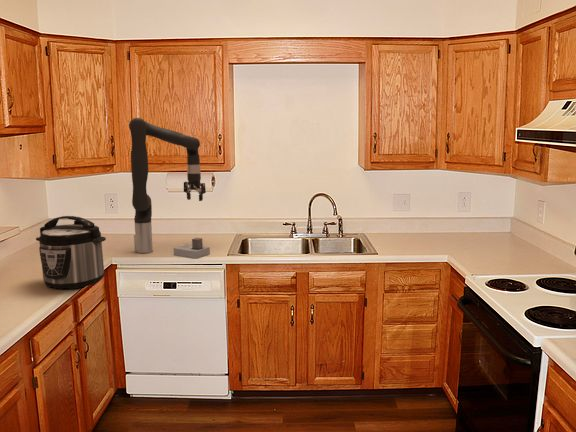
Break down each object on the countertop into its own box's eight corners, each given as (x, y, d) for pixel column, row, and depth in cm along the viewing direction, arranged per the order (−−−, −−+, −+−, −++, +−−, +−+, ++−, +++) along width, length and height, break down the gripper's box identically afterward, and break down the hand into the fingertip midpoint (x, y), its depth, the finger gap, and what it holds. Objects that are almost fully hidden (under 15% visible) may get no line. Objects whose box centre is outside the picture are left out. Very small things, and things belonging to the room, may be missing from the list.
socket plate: (173, 255, 314) (173, 247, 313) (187, 250, 324) (187, 243, 323) (196, 258, 306) (196, 251, 305) (209, 253, 316) (209, 246, 315)
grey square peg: (192, 253, 312) (192, 238, 311) (197, 251, 315) (196, 237, 314) (198, 254, 310) (197, 239, 309) (202, 252, 314) (202, 238, 312)
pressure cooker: (30, 282, 266) (24, 216, 260) (87, 269, 286) (82, 208, 280) (57, 296, 245) (51, 225, 239) (116, 282, 265) (112, 216, 259)
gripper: (179, 172, 323) (181, 200, 326) (199, 173, 316) (200, 202, 319) (188, 171, 329) (189, 198, 332) (207, 172, 322) (208, 200, 325)
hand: (194, 200), depth 326 cm, fingers open, 8 cm apart
